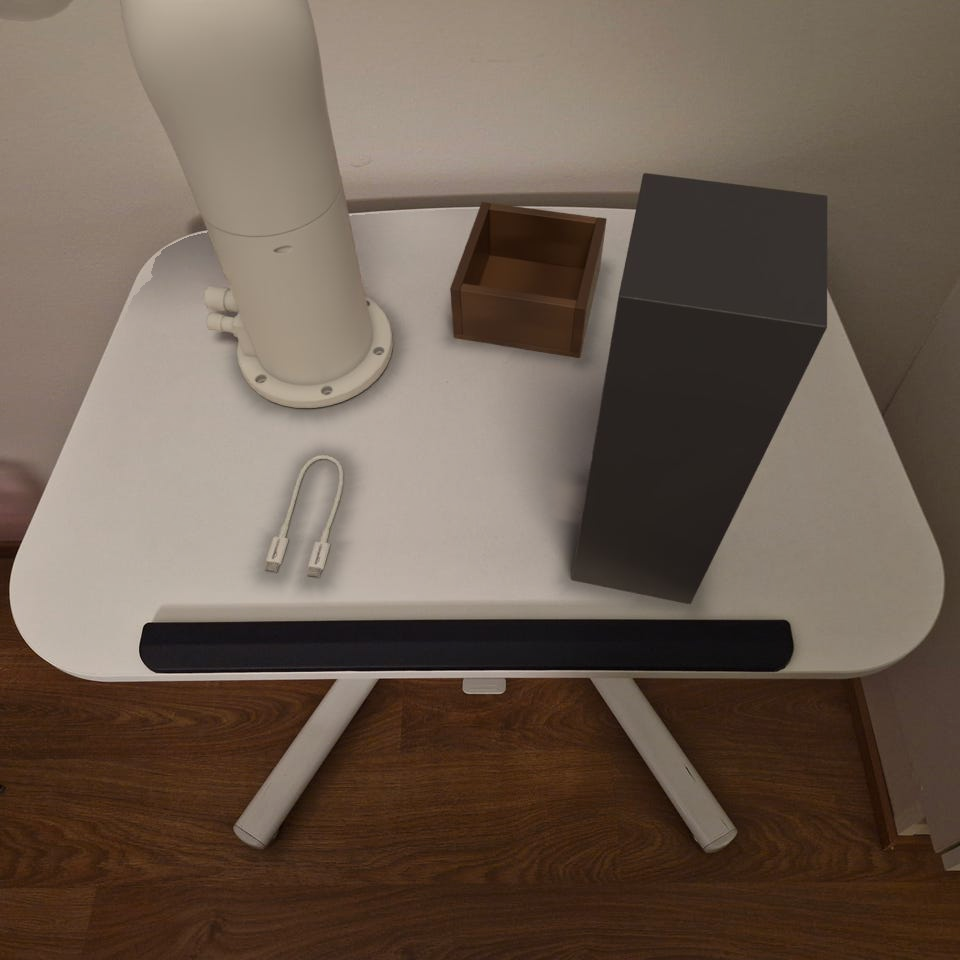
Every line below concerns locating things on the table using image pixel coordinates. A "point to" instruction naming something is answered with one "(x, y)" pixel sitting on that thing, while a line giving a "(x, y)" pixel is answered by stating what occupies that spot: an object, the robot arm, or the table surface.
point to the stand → (697, 374)
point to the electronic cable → (320, 547)
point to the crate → (528, 279)
